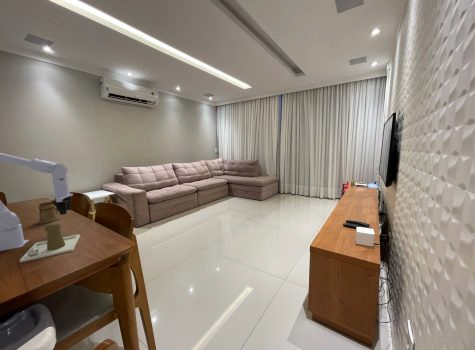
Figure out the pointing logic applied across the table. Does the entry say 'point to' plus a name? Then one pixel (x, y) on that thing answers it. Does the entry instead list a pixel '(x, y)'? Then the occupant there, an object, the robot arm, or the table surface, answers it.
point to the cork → (54, 236)
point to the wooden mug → (48, 212)
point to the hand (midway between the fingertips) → (65, 212)
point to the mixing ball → (32, 252)
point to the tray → (43, 251)
